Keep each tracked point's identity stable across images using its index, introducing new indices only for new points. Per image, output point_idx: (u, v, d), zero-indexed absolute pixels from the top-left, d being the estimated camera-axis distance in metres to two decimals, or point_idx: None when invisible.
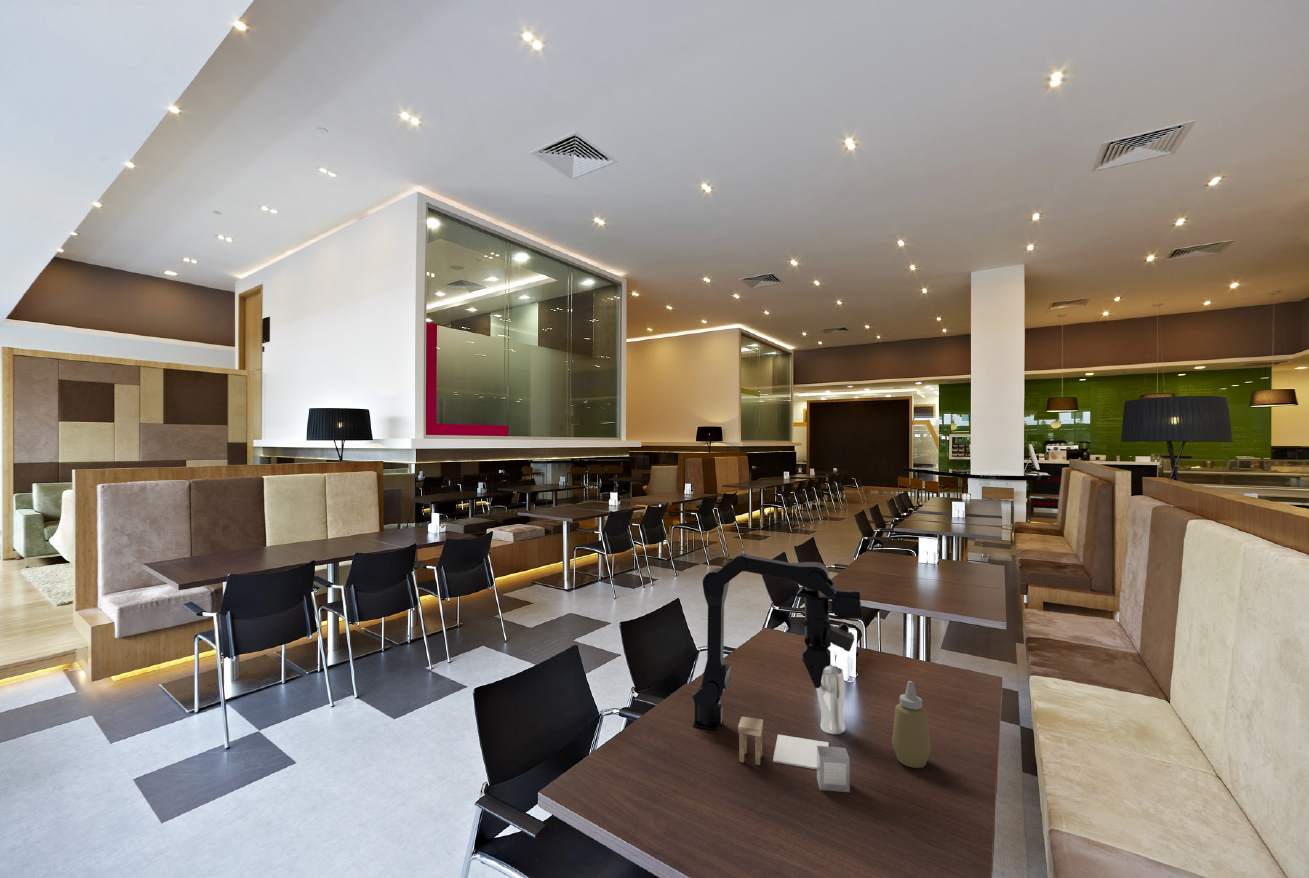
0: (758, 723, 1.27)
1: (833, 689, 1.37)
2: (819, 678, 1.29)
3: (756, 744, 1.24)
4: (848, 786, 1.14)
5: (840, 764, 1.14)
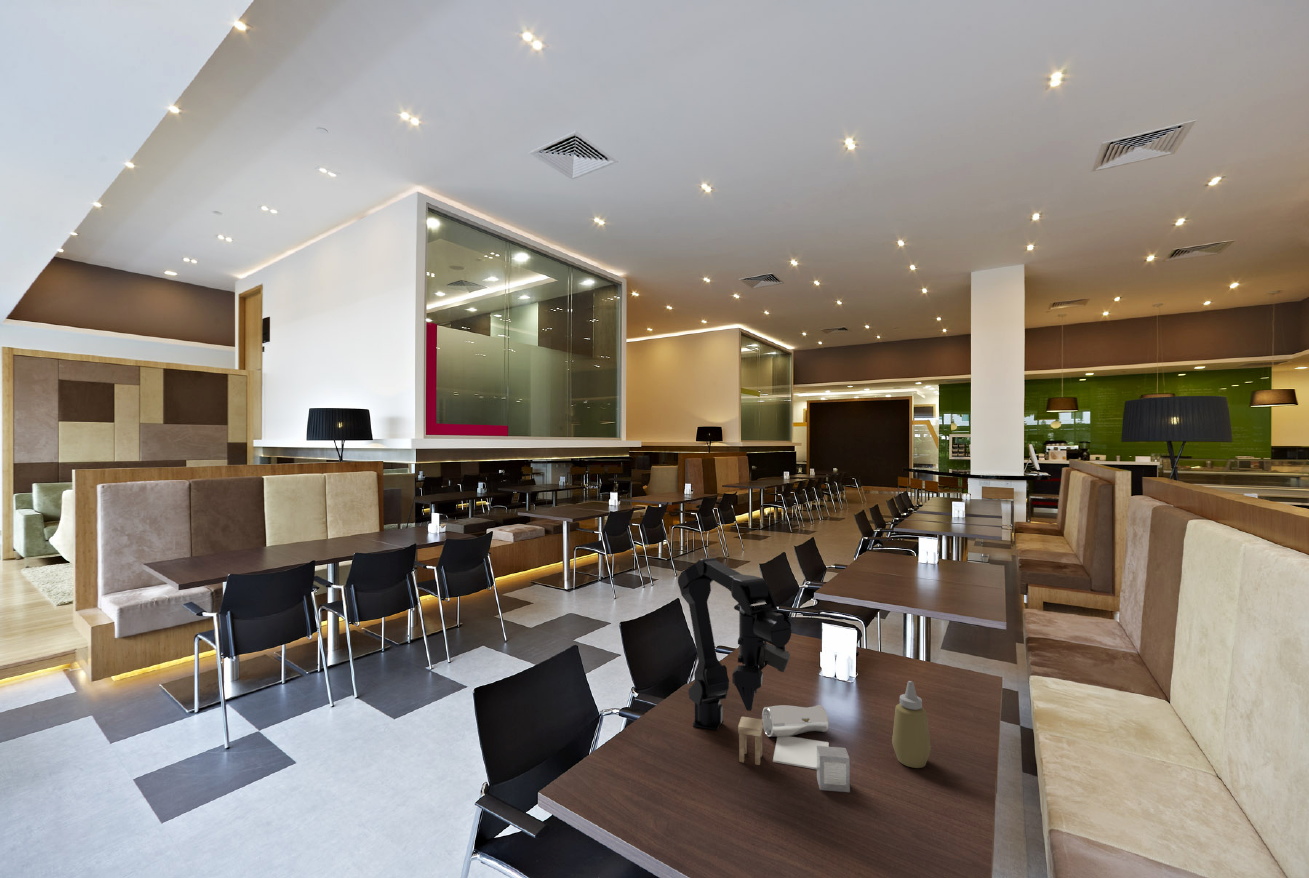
0: (758, 723, 1.27)
1: (785, 731, 1.34)
2: (750, 700, 1.22)
3: (756, 744, 1.24)
4: (848, 786, 1.14)
5: (840, 764, 1.14)
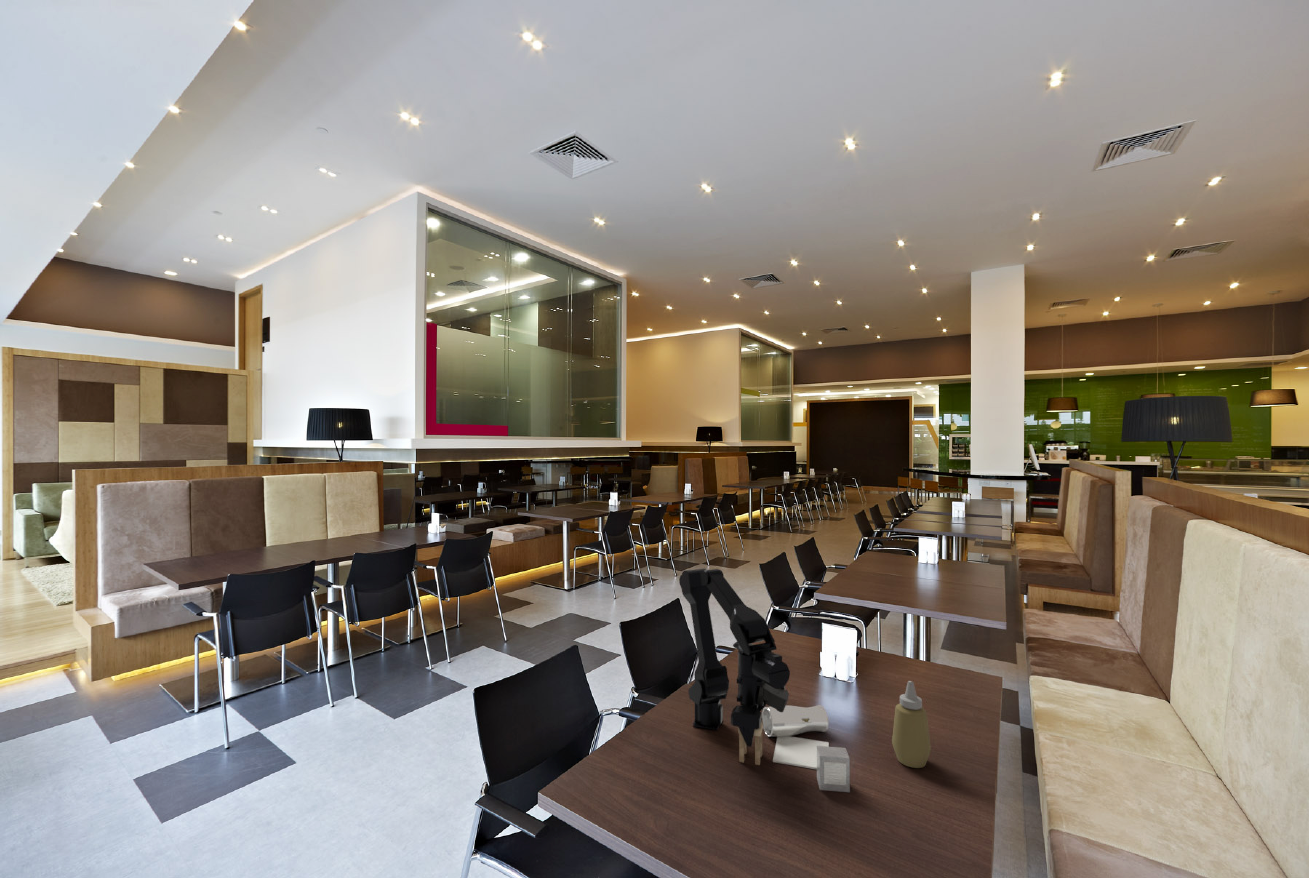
0: None
1: (785, 731, 1.34)
2: (750, 736, 1.23)
3: (756, 744, 1.24)
4: (848, 786, 1.14)
5: (840, 764, 1.14)
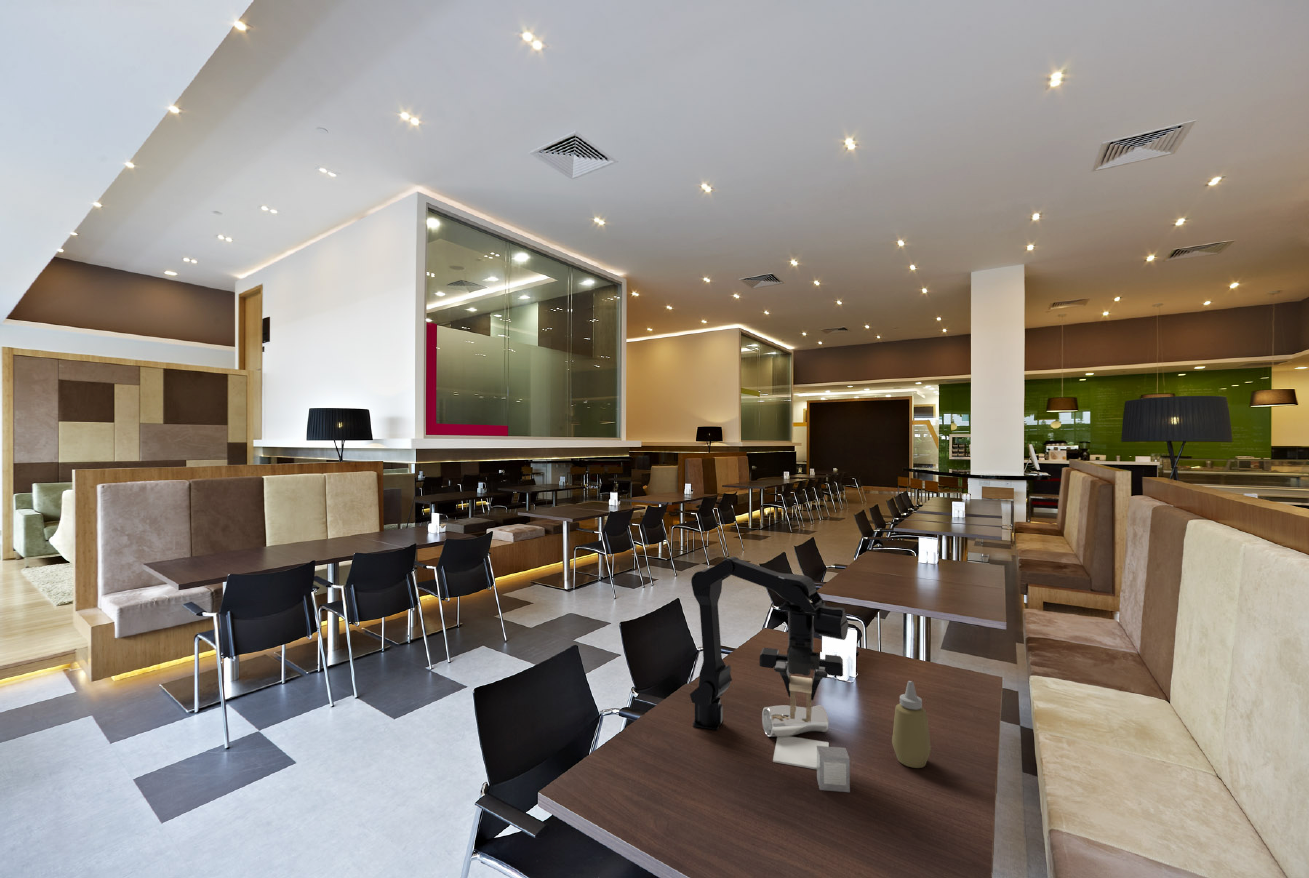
0: (801, 684, 1.28)
1: (785, 731, 1.34)
2: None
3: (790, 697, 1.29)
4: (848, 786, 1.14)
5: (840, 764, 1.14)
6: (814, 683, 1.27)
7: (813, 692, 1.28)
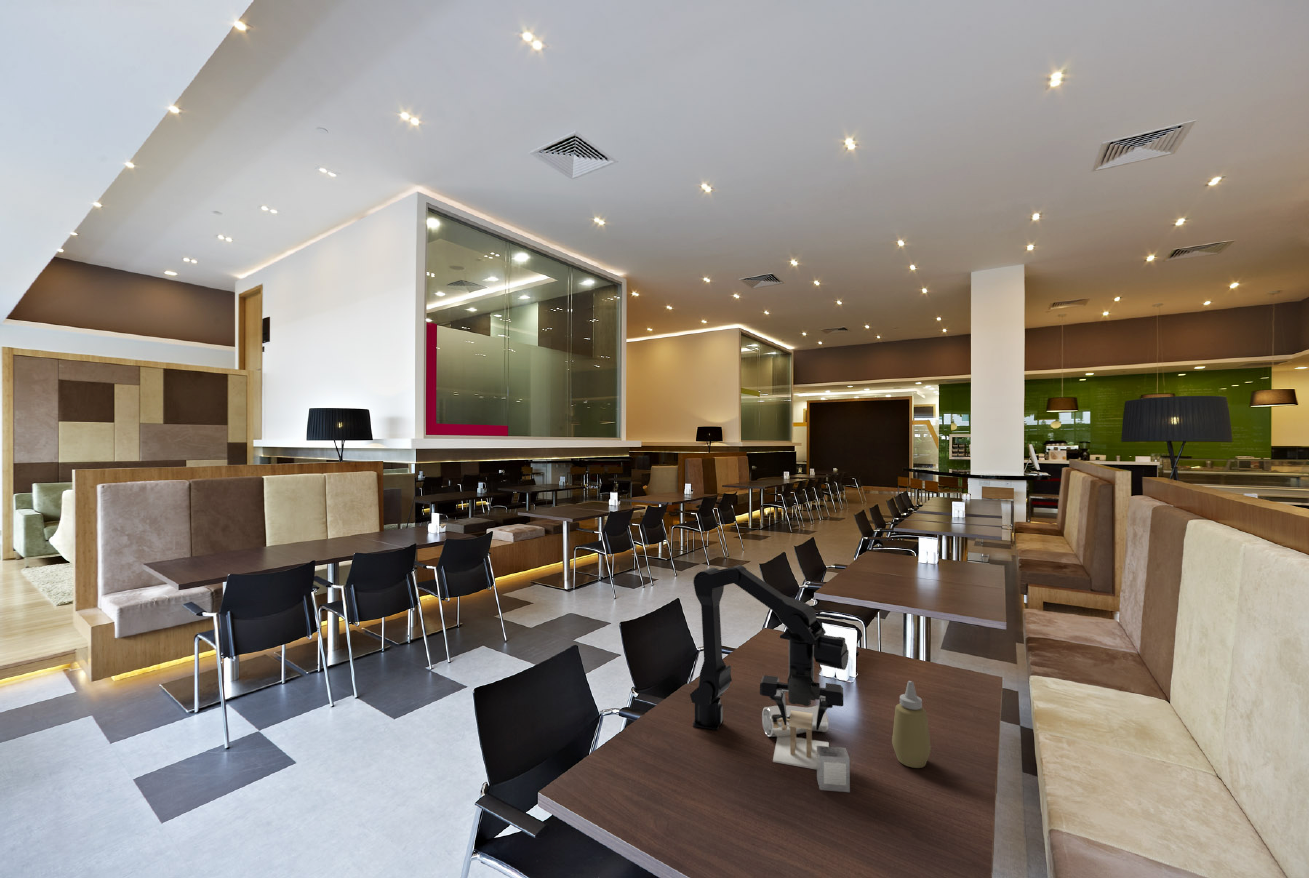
0: (801, 720, 1.28)
1: (785, 731, 1.34)
2: (781, 713, 1.30)
3: None
4: (848, 786, 1.14)
5: (840, 764, 1.14)
6: (819, 713, 1.27)
7: (818, 722, 1.27)
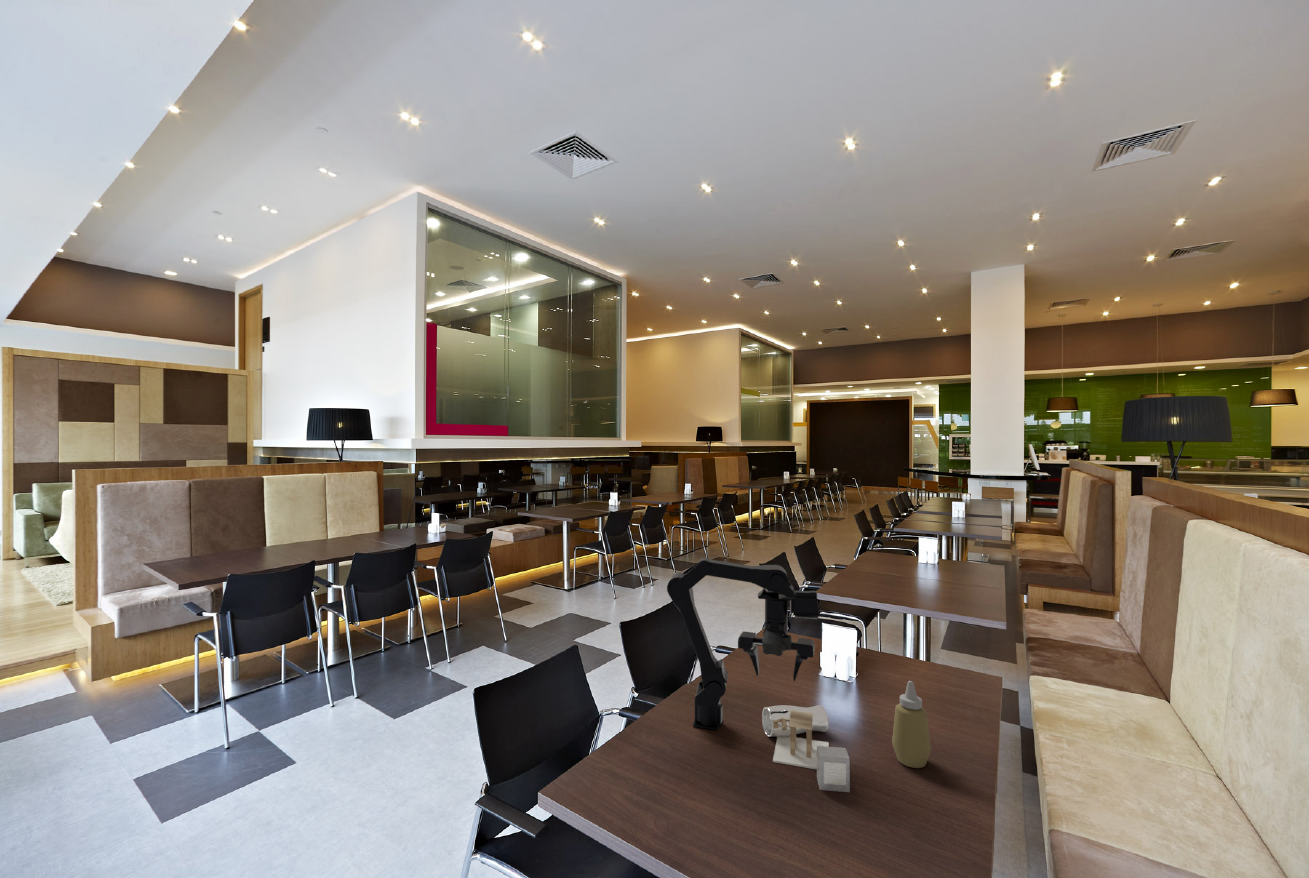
0: (801, 720, 1.28)
1: (785, 731, 1.34)
2: None
3: None
4: (848, 786, 1.14)
5: (840, 764, 1.14)
6: (796, 665, 1.38)
7: (795, 673, 1.38)
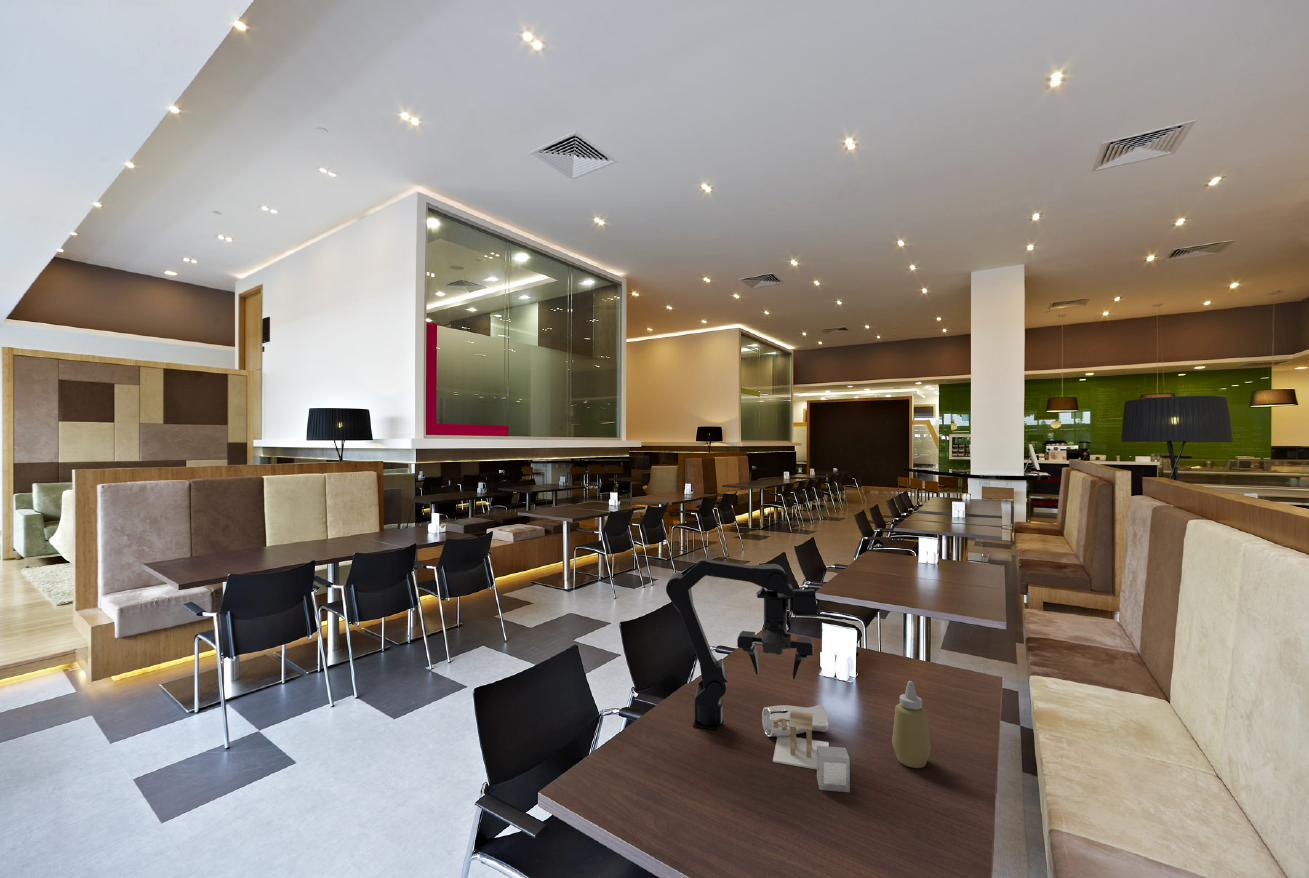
0: (801, 720, 1.28)
1: (785, 731, 1.34)
2: None
3: None
4: (848, 786, 1.14)
5: (840, 764, 1.14)
6: (795, 663, 1.38)
7: (794, 671, 1.39)
